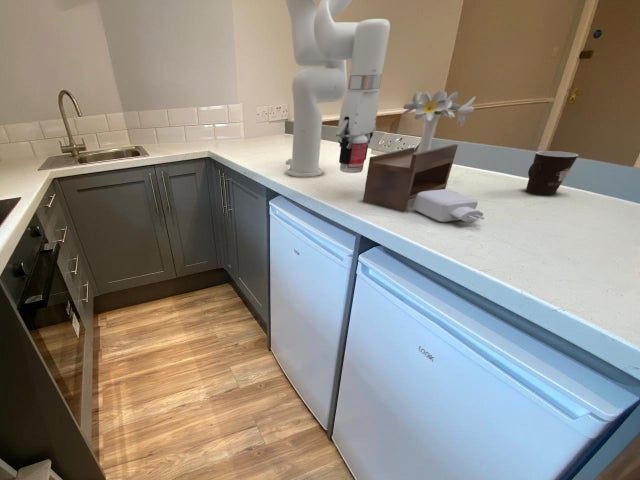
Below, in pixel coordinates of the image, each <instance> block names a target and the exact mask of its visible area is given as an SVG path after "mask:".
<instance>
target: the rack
mask: <svg viewBox="0 0 640 480" xmlns="http://www.w3.org/2000/svg"><path fill="white" fill-rule="evenodd" d="M458 147H459V144H457V143H453V144H449V145H445V146H441V147H438V148H437V147H436V148H432V149H430V150H429V151H425V152H421V153H417V151H416V152H415V149H416V147H414V146H412V147H407V148H403V149H398V150H395V151H390V152H386V153H381V154H377V155H373V156H369V160H368V166H367V173H366V178H365V186H364V192H363V197H362V202H364V203H367V204H371V205H375V206H379V207H383V208H387V209H391V210H395V211H400V212H406V211H407V209H408V206H409V205H408V204H409V202H410V201H412V200H414V199H416V196H417V194H418V193H420V192H423V191H432V190H441V189H447V184H448V181H449V178H450V174H451V171H452V168H453V164H454V161H455V158H456V154H457V151H458Z"/></svg>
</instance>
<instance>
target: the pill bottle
mask: <svg viewBox="0 0 640 480" xmlns="http://www.w3.org/2000/svg"><path fill="white" fill-rule="evenodd" d="M365 133H366V128H363V130H362V132H361V135H359V136H355V137H354V139H353V142H352V145H351V147H350V148H352V152H351V159H350V164H348V165H347V164H342V163H339V170H340V171H341V172H343V173H347V174H359V173H361V172H363V171H364V164H365V160H364V159H365V153H366V147H367V145H368V144H367V141H368V139H367V137H366V136H365ZM348 135H350V134H349V133H348ZM346 139H347V141H348V140H349V138H346Z"/></svg>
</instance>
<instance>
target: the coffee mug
mask: <svg viewBox="0 0 640 480" xmlns="http://www.w3.org/2000/svg"><path fill="white" fill-rule="evenodd" d="M561 155H564V156H561ZM568 156H569V157H568ZM578 157H579V154H578V153H574V152H569V151H558V150H542V151H541V150H540V151H536V152H535V155H534V159H533V162H532V164H531V165H530V167H529V168H528V172H527V175H528V176H527V177H528V181H527V184H526V189H525V192H526V193H527V194H530V195H535V196H540V197H541V196H543V197H551V196H555V195H556V194H557V191H558V189H559V188H560V186H561V185H562V184H563V181H564V180H565V179H566V177H567V175H568V173H569V172H570V170H571V169H572V167H573V166H574V163H575V162H576V160H577V159H578Z"/></svg>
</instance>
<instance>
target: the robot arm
mask: <svg viewBox="0 0 640 480" xmlns="http://www.w3.org/2000/svg"><path fill="white" fill-rule="evenodd" d="M352 1H353V0H320V2H319V3H318V6H317V5H316V3H315V1H314V0H285V3H286V6H287V10H288V14H289V17H290V24H291V35H292V37H291V38H292V46H293V47H292V48H293V56H294V60H295V63H296V64H297V66H299V67H304V69H301V70H299V71H298V72H296V73H295V75H294V76H293V79H292V84H291V90H292V91H291V93H292V101H293V129H292V130H293V131H292V154H291V155H292V156H291V158H288V160H285V165H287V166H289V168H288V169H287V171H286V173H287V175H289V176H292V177H300V178H310V177H318V176H321V175H322V174H323V169H322V168H321V167H319V164H320V152H321V141H322V132H323V131H322V129H323V115H322V112H321V110H320V109H319V106H318V104H322V103H323V104H324V103H336V102H339V101H341V100H342V99H343V100H342V104H341V108H340V114H339V118H338V125H337V131H336V133H335V137H336V138H337V141H338V143H339V148H340V149H339V150H340V151H339V159H338V162H339V164H341V163H342V164H347V165H348V164H350V159H351V152H352V148H350V147H351V145H352V142H353V139H354V137H355V136H359V135H361V132H362V130H363V128H366V133H365V136H366V137H367V139H368V141H367V147H366V153H365V159H364V161H366V160H367V156H368V155H367V154H368V149H369V145H370V143H371V139H372V137H373V136H374V133H375V132H376V130H377V128H378V127H377V124H376V121H377V116H378V109H379V94H380V89H381V84H382V83H381V82H382V77H383V71H384V65H385V59H386V53H387V48H388V43H389V36H390V30H391V23H390V21H389V20H388V19H386V18H369V19H363V20H361V21H359V22H356V21H341V22H339V21H337V22H336V21H334V19H333V18H334V17H335V16H338V14H340V13H342V12H343V11H345V10H346V9H347V8H348V7H349V6H350V5H351V3H352ZM347 61H350V68H349V77H348V72H347ZM305 67H306V68H305ZM348 133H349V134H350V135H348ZM346 138H349V140H348V141H347V139H346Z"/></svg>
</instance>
